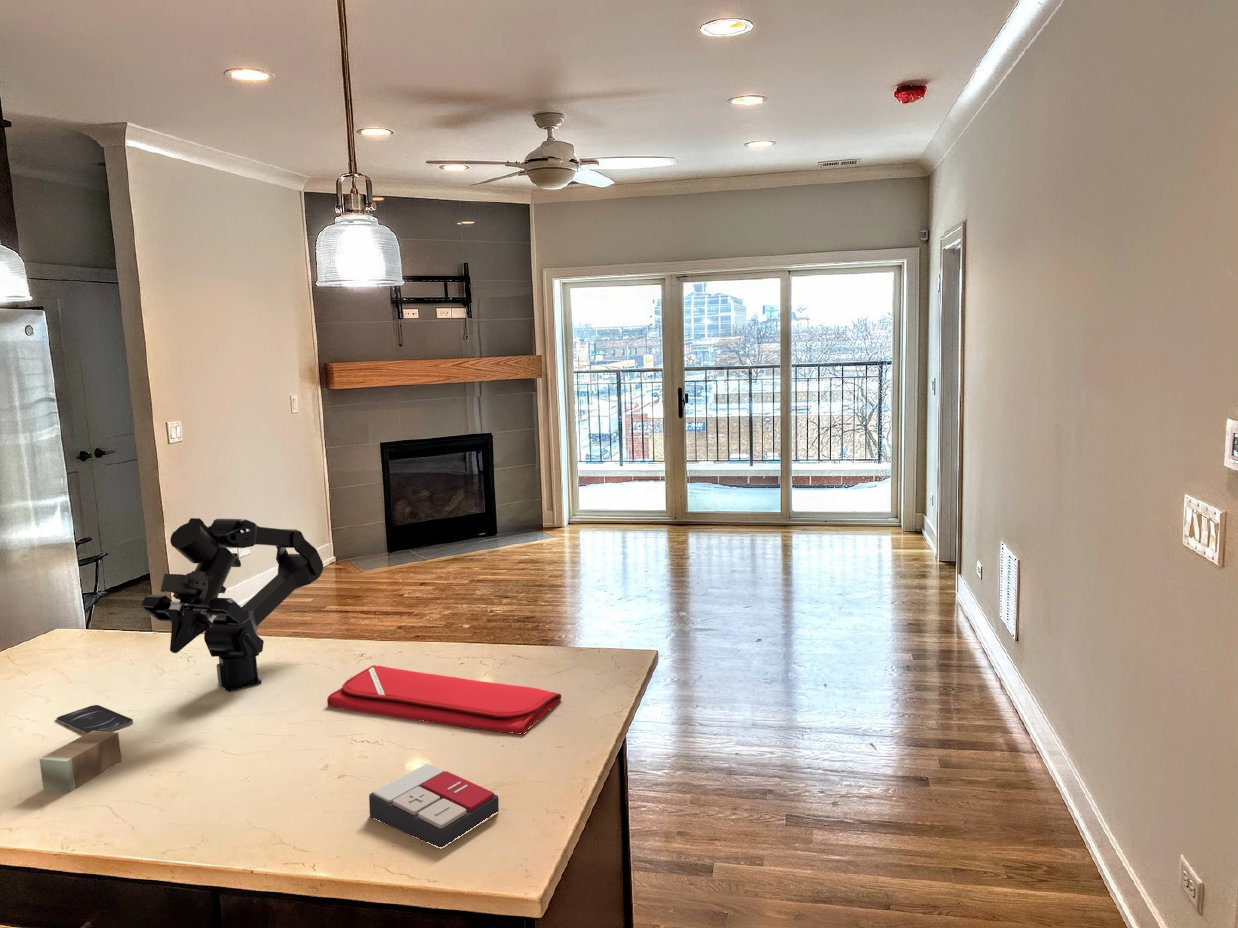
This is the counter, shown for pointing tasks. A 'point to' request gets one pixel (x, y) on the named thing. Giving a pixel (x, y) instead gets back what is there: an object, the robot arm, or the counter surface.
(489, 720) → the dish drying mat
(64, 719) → the smartphone
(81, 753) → the walnut block
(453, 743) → the counter surface
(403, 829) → the calculator
